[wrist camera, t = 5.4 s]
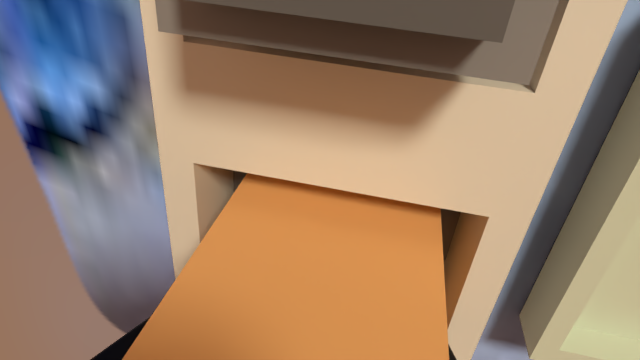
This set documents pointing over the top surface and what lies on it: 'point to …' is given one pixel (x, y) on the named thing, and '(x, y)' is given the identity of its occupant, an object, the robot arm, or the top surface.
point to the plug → (306, 281)
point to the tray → (595, 259)
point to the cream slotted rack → (377, 113)
